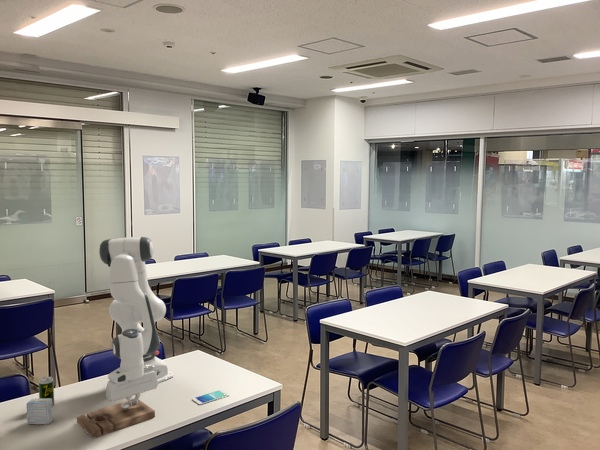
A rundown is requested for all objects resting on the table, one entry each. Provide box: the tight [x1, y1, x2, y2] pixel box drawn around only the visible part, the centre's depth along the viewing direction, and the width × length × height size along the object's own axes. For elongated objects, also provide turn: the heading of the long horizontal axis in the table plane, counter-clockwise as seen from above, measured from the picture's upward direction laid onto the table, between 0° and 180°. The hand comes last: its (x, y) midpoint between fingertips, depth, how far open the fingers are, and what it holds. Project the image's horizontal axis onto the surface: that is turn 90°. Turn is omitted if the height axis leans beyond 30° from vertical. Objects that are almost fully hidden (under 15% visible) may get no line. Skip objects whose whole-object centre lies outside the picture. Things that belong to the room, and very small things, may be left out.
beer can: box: [38, 376, 55, 407], centre depth 204 cm, size 5×5×12 cm
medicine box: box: [26, 398, 54, 425], centre depth 191 cm, size 8×4×9 cm, turn 92°
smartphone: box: [191, 389, 230, 406], centre depth 214 cm, size 8×1×15 cm
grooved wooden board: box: [76, 398, 156, 439], centre depth 194 cm, size 24×16×2 cm, turn 134°
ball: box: [121, 401, 130, 411], centre depth 196 cm, size 3×3×3 cm
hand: (133, 405), depth 198 cm, fingers closed
